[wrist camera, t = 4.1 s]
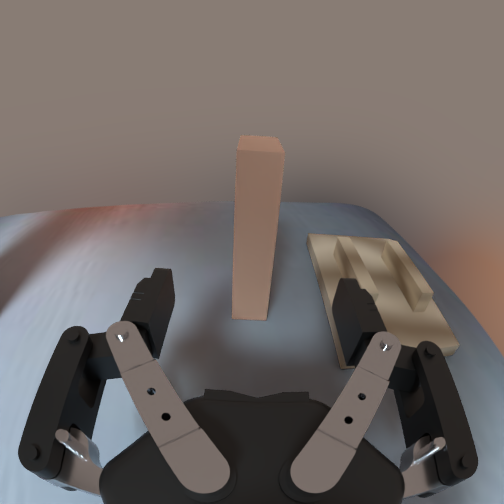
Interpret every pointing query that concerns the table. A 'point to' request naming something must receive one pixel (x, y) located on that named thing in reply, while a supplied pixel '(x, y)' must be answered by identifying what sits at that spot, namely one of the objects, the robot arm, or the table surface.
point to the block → (255, 223)
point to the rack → (381, 288)
